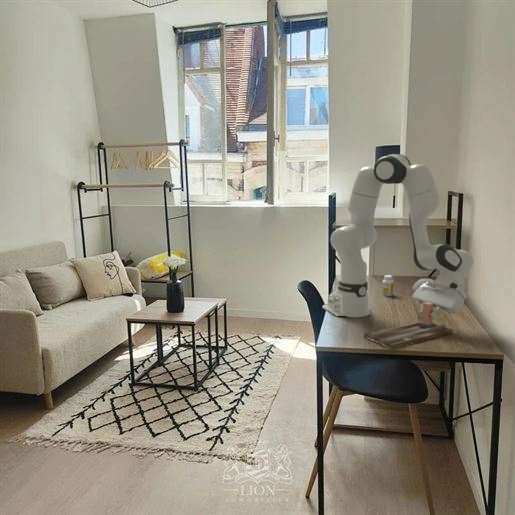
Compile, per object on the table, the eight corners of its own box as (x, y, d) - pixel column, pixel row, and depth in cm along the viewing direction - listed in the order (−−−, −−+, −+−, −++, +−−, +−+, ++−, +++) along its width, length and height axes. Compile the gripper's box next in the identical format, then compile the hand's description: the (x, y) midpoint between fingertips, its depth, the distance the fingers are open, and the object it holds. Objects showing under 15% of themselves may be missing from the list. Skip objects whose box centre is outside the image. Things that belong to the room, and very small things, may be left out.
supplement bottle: (391, 293, 234) (391, 274, 232) (394, 296, 229) (395, 276, 227) (380, 293, 234) (381, 274, 232) (384, 296, 229) (384, 277, 227)
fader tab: (418, 325, 178) (419, 302, 177) (425, 323, 180) (426, 301, 179) (428, 328, 174) (429, 305, 172) (435, 327, 176) (437, 303, 174)
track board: (364, 337, 172) (364, 330, 171) (423, 323, 186) (423, 317, 186) (391, 349, 160) (391, 342, 159) (452, 333, 174) (452, 326, 174)
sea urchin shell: (430, 299, 222) (431, 283, 221) (406, 294, 232) (406, 278, 231) (445, 294, 230) (446, 278, 229) (420, 289, 241) (421, 274, 239)
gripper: (420, 277, 186) (401, 304, 184) (464, 287, 169) (444, 317, 166) (427, 286, 189) (409, 313, 186) (471, 297, 172) (452, 326, 169)
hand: (426, 315), depth 176 cm, fingers closed on fader tab, 3 cm apart
